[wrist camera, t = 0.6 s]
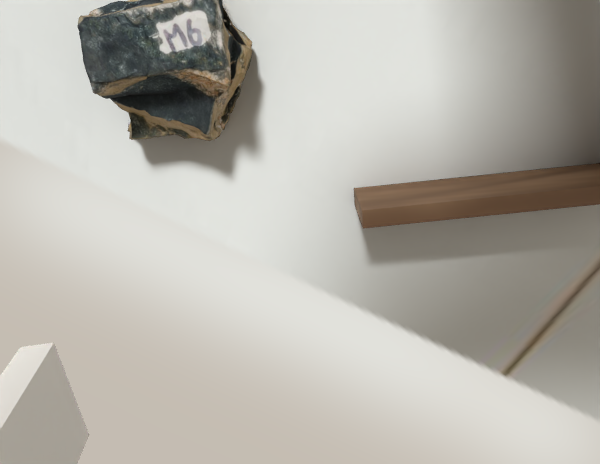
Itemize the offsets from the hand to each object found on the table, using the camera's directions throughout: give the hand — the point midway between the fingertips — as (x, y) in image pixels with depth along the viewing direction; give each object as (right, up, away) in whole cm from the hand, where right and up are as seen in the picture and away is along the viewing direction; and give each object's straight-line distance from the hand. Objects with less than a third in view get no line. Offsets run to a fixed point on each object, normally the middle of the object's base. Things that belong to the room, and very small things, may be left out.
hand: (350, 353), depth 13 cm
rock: (-9, +13, +22) cm, 27 cm away
